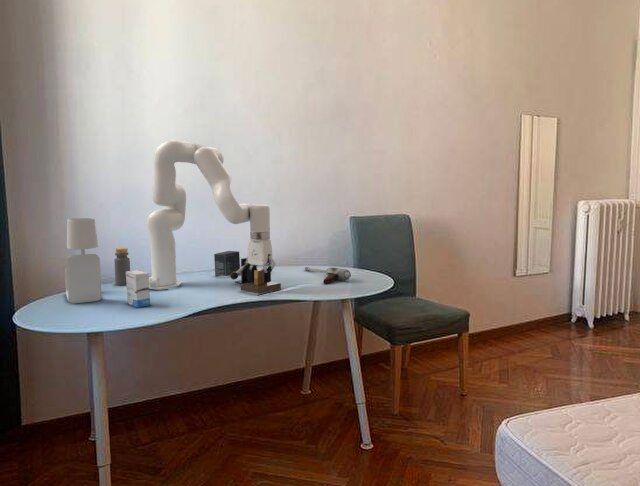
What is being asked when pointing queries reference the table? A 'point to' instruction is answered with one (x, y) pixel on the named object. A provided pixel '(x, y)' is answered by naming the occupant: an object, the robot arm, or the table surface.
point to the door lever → (235, 274)
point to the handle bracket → (245, 273)
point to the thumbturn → (259, 276)
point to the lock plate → (261, 287)
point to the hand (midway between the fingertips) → (260, 280)
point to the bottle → (121, 266)
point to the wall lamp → (82, 262)
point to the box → (226, 263)
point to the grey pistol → (333, 274)
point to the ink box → (138, 288)
